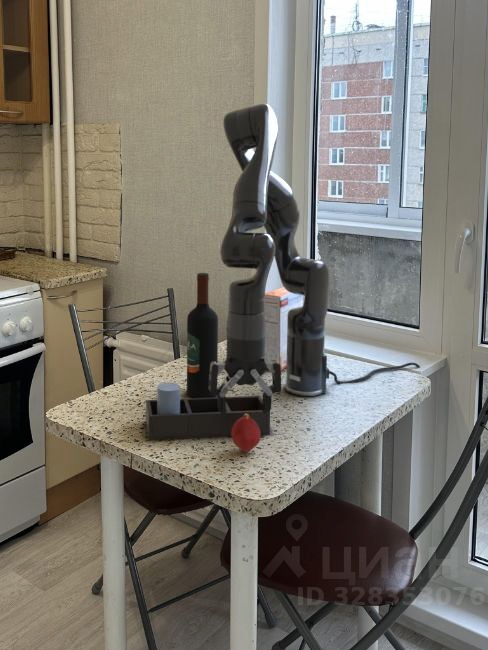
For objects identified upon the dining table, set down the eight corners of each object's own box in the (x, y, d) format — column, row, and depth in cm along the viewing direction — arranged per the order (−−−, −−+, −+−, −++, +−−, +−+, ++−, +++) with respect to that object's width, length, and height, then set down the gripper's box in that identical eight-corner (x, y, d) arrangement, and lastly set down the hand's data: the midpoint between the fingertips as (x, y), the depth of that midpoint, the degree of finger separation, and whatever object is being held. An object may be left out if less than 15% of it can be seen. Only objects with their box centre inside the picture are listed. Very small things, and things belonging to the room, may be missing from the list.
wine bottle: (214, 401, 161) (215, 277, 158) (183, 398, 162) (184, 276, 160) (219, 389, 168) (220, 271, 166) (189, 387, 170) (190, 270, 167)
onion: (229, 445, 137) (229, 407, 136) (257, 445, 137) (257, 407, 137) (233, 459, 131) (234, 419, 130) (262, 458, 132) (263, 418, 131)
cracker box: (284, 355, 197) (285, 284, 195) (302, 359, 193) (304, 287, 191) (260, 367, 185) (261, 293, 183) (280, 372, 182) (281, 296, 180)
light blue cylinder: (178, 422, 147) (178, 382, 146) (181, 431, 142) (181, 390, 141) (155, 423, 146) (156, 383, 146) (157, 432, 141) (157, 391, 141)
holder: (259, 417, 151) (260, 395, 151) (269, 434, 142) (270, 411, 142) (145, 422, 148) (145, 400, 148) (148, 440, 139) (148, 416, 139)
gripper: (213, 339, 128) (211, 422, 129) (286, 338, 129) (284, 419, 131) (207, 329, 135) (206, 407, 136) (276, 327, 137) (274, 405, 138)
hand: (244, 413), depth 133 cm, fingers open, 8 cm apart
